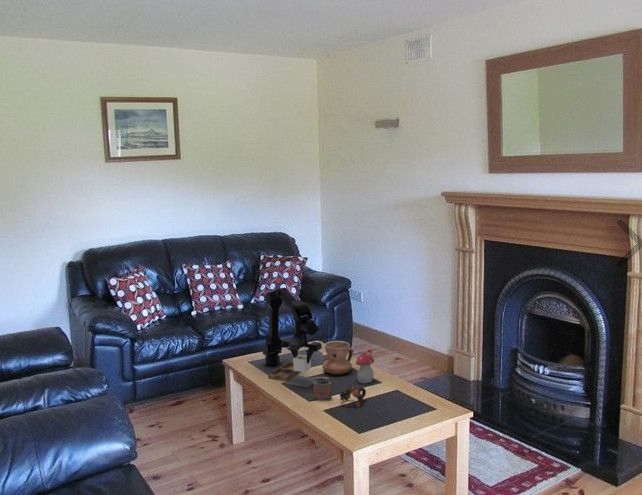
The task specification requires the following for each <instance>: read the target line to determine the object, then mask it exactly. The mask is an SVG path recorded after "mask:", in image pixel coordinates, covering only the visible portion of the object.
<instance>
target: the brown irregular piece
mask: <svg viewBox="0 0 642 495" xmlns="http://www.w3.org/2000/svg"><path fill="white" fill-rule="evenodd" d="M361 392H362V393H361ZM366 394H367V391H366V388H365V387H360V388H357V389H356V388H355V386H350V387H349V388H347V389H346V390H345V391H342V392H340V394H339V396H340V401H343V402H344V401H348V400H349V399H351V395H352V396H353V397H354V398H356V399H357V402H355V403H354V405H355V407H356V409H357V408H360V407H361V406H363V405H364V398H365V397H366Z"/></svg>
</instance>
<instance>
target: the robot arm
mask: <svg viewBox="0 0 642 495" xmlns="http://www.w3.org/2000/svg"><path fill="white" fill-rule="evenodd" d="M265 303H266V305H267V307H268V312H269V313H268V335H267V338H266V339H265V343H264V346H263V348H262V349H261V351H262V355H263V356H264V358H265V364H263V366H264V367H270V368H276V367H278V366H279V365H281V364H282V363H281V362H280V361H281V358H280V354H281V353H282V349H283V348H285V349H287V350H289V351H290V353H291V355H292V356H293V358H295V357H296V356H298V355H299V353H298V352H299V350H300V349H301V348H302V349H303V348H307V350H306V351H305V352H306V356H307V364H308V363H309V362H310V359H312V357H313V355H314V352H318V351H320V350H321V349H322V348H323V346H322V343H321V342H319V341H318V342H317V341H313V342H311V343H309V342H310V340H309V339H308V335H309V336H314V335H316V334H317V332H318V329H319V327H318V325H317V324H316V323H315V320H314V317H313V313H312V311H311V310H310V308H309V306H308V304H307V303H305V302H304V301H301V300H298V299H297V298H296V297H294V295H292V293H290V292H289V291H288V289H287V287H280V288H277V289H274V290H273V291H269V292H266V294H265ZM283 303H284V304H286V305H287V306H288V307H289V309H290V313H291V314H292V316H293V317H292V320H293V321H294V333H293V337H292V338H286V339H284V340H282V339H281V337H280V334H279V332H280V330H279V329H280V326H279V325H280V324H279V322H280V321H279V320H280V308H281V306H282V304H283Z"/></svg>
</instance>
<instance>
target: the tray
mask: <svg viewBox="0 0 642 495" xmlns="http://www.w3.org/2000/svg"><path fill="white" fill-rule="evenodd" d="M301 373H302V372H300V371H294V364H293V361H287V362H286V363H284V364H282V365H280V367H277V368H276V369H274V370H272V371H271V372H270V373H268V374H267V378H268V380H269V379H270V380H275V381H281V382H289V381H290V380H292V379H293V378H295V377H296V376H298V375H299V374H301Z"/></svg>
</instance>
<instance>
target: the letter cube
mask: <svg viewBox="0 0 642 495" xmlns="http://www.w3.org/2000/svg"><path fill="white" fill-rule="evenodd" d="M311 359H312V358H311ZM311 359H310V362H309V363H308V364H307V354H306V355H305V354H298V356H296V357H295V358H294V357H293V359H292V360H293V361H292V362H293V364H294V371H300V372H301V373H307V371H309V370H310V369H312V367H311V366H312V364H311V361H312V360H311Z"/></svg>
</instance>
